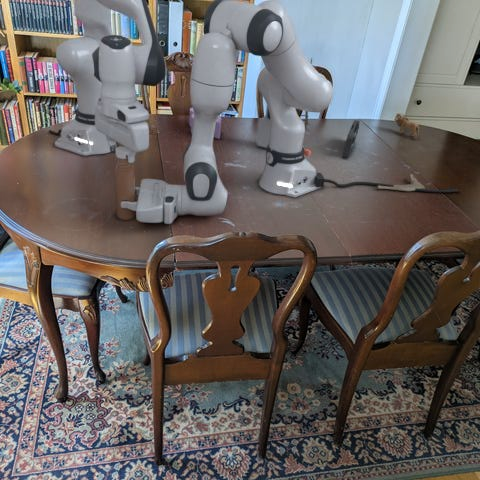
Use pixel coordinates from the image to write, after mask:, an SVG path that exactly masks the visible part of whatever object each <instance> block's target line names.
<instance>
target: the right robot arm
mask: <svg viewBox="0 0 480 480" xmlns="http://www.w3.org/2000/svg"><path fill="white" fill-rule="evenodd" d="M203 17H204V18H203V29H202V31H203V35H202V36H200V37H199V39H198V41H197V44H196V47H195V51H194V55H193V60H192V65H191V70H190V71H191V72H190V82H189V97H190V105H191V108H192V107H193V109H194V123H193V131H192V133H191V138H190V141H189V143H188V145H187V147H186V148H185V150H184V152H183V155H182V165H183V180H184V183H185V184H170V183H168V182H166V181H165V180H162V179H155V178H143V179H141V180H140V184H139V185H140V186H135V196H136V197H137V196H138V197H137V201H135V202H133V203H132V202H128V200H122V201H121V208H128V209H130V210H133V211H136V216H135V219H136V220H137V221H138V222H140V223H147V224H148V223H149V224H160V223H163V224H165V225H171V224H173V222H174V220H176V218H177V217H178V216H186V215H192V216H194V217H195V216H197V217H213V216H218V215H219V216H220V215H222V214H223V213H224V211H226V208H227V205H228V199H229V192H228V190H227V189H226V187H225V186H224V184H223V182H222V180H221V177H220V174H219V172H218V166H217V165H218V164H217V154H216V150H215V148H214V139H215V138H214V132H215V125H216V120H217V117H218V115H219V116H220V115H221V114H223V113H225V112H226V111H227V110H228V108H229V106H230V102H231V100H232V96H233V94H234V93H233V92H234V86H235V80H236V72H237V71H236V70H237V59H238V57H239V55H240V54H241V52H243V53H248V54H252V55H253V56H256V57H261V60H262V62H263V65H264V67H263V68H262V69H261V70H260V72H259V73H258V77H257V82H256V83H257V84H256V85H257V89H258V92H259V93H260V95H261V96H262V98H263V99H264V101H265V103H266V107H267V106H268V109H269V113H270V119H271V129H270V139H269V144H268V145H267V149H266V152H265V164H264V167H263V171H262V174H261V177H260V178H259V181H258V185H259V186H260V188H262V189H263V190H264V191H266V192H269V193H272V194H275V195H280V196H281V195H282V196H287V197H290V198H297V197H300V196H303V195H305V194H308V193H310V192H313V191H316V190H318V189H322V188H324V187H325V186H324V185H325V183H327V184H328V183H329V184H332V185H334V186H336V187H338V188H348V187H351V186H356V185H357V186H358V185H361V186H373V187H377V186H378V185H380V186H387V187H393V186H394V185H395V184H388V183H380V182H372V181H353V182H347V183H345V184H342V183H338V182H336V181H335V180H332V179H328V178H325V177H324V175H323V174H322V172H317V169H316V167H315V166H314V165H313V164H312V163H311V162H310V161H308V159H306V158H305V156H306V157H310V156H311V154H312V151H311V150H309V149H308V148H304V147H303V145H304V139H305V132H306V129H305V122H304V121H302V120H303V119H302V118H301V117H300V115H298V114H299V113H298V112H297V110H300V111H302V112H306V111H307V112H308V113H322V112H324V111H325V110H327V109H328V107H329V106H330V105H331V103H332V100H333V98H334V88H333V85H332V82H331V81H329V80H328V79H327V78H326V77H325V76H323V75H321V73H320V72H319V71H318V70H317V69H316V68H315V66H313V64H311V61H310V60H309V59H308V58H307V57H306V55H305V54H304V52H303V50H302V46H301V44H300V42H299V39H298V36H297V33H296V30H295V27H294V25H293V22H292V20H291V17H290V15H289V14H288V12H287V10H286V9H285V7H284V6H283V4H282V3H280V2H279V1H277V0H264V1H262V2H260V3H258V4H257V5H256V4H254V3H250V2H246V1H241V0H213V1H211V2H210V4H209V5H208V7H207V9H206V11H205V14H204V16H203ZM295 108H296V109H295ZM415 189H416V190H415V191H414V192H423V193H436V194H439V193H440V194H447V193H449V194H450V193H459V192H460V189H457V188H456V189H431V188H430V189H429V188H424V189H419V188H415Z"/></svg>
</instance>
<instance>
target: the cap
mask: <svg viewBox="0 0 480 480" xmlns="http://www.w3.org/2000/svg"><path fill="white" fill-rule="evenodd" d="M128 152H129V151H128V150H127V147H126V146H124V145H119V146H118V147H117V148H116V152H115V156H116V158H117V159H119V158H121V159H126V155H128Z"/></svg>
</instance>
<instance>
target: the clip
mask: <svg viewBox="0 0 480 480" xmlns="http://www.w3.org/2000/svg"><path fill="white" fill-rule="evenodd" d="M188 119H189V120H188V121H189V122H188V125H189V127H190V134H192V131H193V123H194V109H193V107H192V106H191V107H190V108H189V118H188ZM221 131H222V116H221V115H220V114H219V115H218V117H217V120H216V125H215V132H214V138H213V139H218V140H219V139H221Z"/></svg>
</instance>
